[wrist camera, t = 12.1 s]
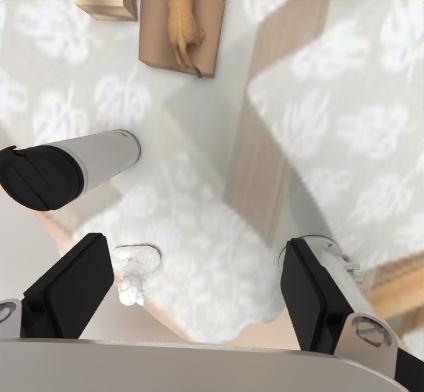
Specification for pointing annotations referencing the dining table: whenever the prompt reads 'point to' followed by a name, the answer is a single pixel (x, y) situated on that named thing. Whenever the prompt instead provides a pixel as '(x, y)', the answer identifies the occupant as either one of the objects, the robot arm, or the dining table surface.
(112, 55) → the dining table surface
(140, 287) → the seated beast figurine
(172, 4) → the lion figurine
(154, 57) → the walnut block
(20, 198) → the travel mug
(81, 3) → the oak block
